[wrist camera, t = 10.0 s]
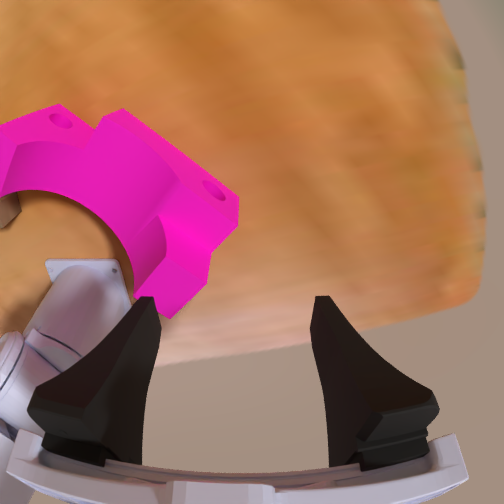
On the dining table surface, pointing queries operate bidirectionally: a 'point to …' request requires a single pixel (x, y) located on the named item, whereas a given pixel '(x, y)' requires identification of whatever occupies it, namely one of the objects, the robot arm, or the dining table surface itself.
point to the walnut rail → (8, 208)
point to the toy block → (127, 193)
